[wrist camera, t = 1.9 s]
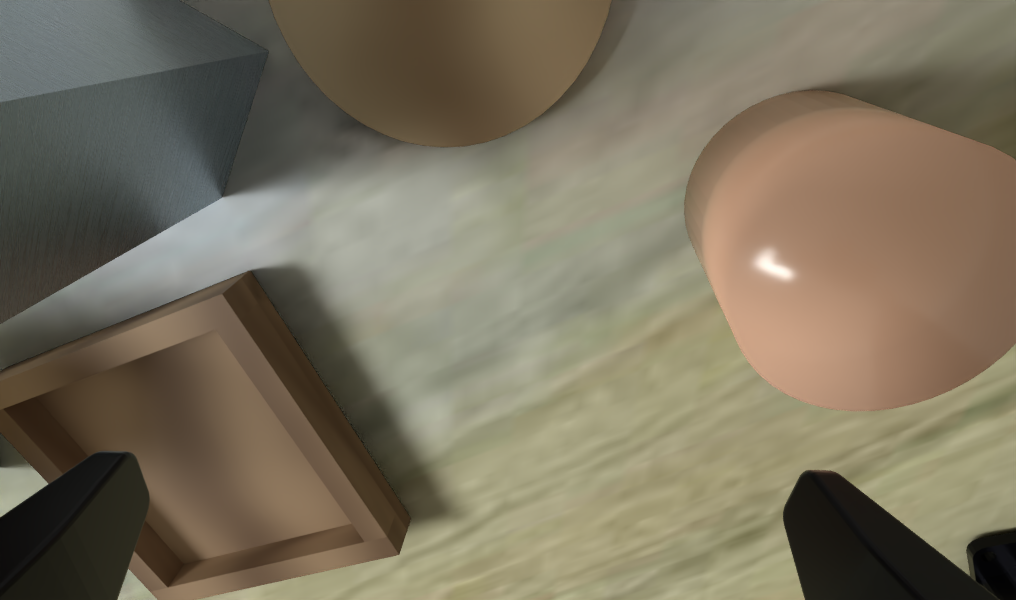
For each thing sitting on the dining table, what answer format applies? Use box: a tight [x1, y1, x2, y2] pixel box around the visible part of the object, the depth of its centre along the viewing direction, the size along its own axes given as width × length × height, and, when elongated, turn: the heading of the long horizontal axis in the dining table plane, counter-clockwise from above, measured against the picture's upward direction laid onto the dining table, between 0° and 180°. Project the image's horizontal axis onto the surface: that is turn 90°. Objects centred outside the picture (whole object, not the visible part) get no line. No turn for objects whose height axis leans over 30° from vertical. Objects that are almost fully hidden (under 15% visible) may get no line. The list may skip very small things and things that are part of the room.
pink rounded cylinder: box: [684, 90, 1016, 411], centre depth 15 cm, size 6×6×6 cm
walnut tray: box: [0, 271, 411, 600], centre depth 24 cm, size 12×12×2 cm
